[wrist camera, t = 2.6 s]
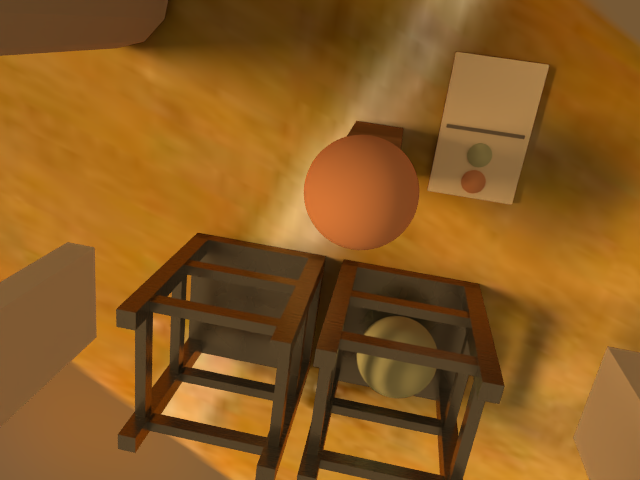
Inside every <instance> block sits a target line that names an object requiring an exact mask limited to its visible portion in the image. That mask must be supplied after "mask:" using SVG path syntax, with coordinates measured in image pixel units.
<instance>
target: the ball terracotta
mask: <svg viewBox="0 0 640 480" xmlns="http://www.w3.org/2000/svg"><path fill="white" fill-rule="evenodd" d="M304 200H305V206H306V209H307V212H308V215H309V217H310V219H311V221H312V223H313V224H314V226H315V227H316V228H317V230H318V231H319V232H320V233H321V234H322V235H323V236H324V237H326V238H327V239H328V240H330V241H331V242H333V243H335V244H337V245H339V246H342V247H345V248H349V249H355V250H368V249H374V248H378V247H380V246H383V245H386V244H388V243H389V242H391V241H393V240H394V239H396V238H397V237H398V236H399V235H400V234H401V233H403V232H404V230H405V229H406V228H407V227H408V225H409V224H410V222H411V221H412V219H413V217H414V215H415V212H416V209H417V205H418V200H419V183H418V178H417V175H416V172H415V169H414V167H413V165H412V163H411V162H410V160H409V158H408V157H407V156H406V155H405V154H404V152H403V151H401V150H400V149H399V148H398V147H397V146H395V145H394V144H393V143H391V142H389V141H387V140H385V139H382V138H380V137H376V136H372V135H352V136H347V137H344V138H341V139H339V140H337V141H335V142H333V143H331V144H330V145H328V146H327V147H326V148H325V149H323V150H322V151H321V152H320V153H319V154H318V155H317V157H316V158H315V159H314V161H313V162H312V164H311V166H310V168H309V170H308V173H307V176H306V179H305V185H304Z"/></svg>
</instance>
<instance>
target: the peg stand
mask: <svg viewBox="0 0 640 480" xmlns="http://www.w3.org/2000/svg"><path fill="white" fill-rule="evenodd" d="M352 135H372V136H376V137H380V138H382V139H385V140H387V141H389V142H391V143H393V144H394V145H395V146H397V147H398V148H399V149H400V150H401V144H402V136H403V128H399V127H393V126H386V125H380V124H373V123H367V122H360V121H356V123H355V124H354V126H353V127H352V129H351V131H350V132H349V134H348V135H347V136H352Z"/></svg>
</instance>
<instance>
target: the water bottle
mask: <svg viewBox="0 0 640 480" xmlns="http://www.w3.org/2000/svg"><path fill="white" fill-rule="evenodd" d="M167 4H168V0H0V56H2V55H17V54H33V53H48V52H64V51H79V50H95V49H110V48H119V47H123V46H128V45H132V44H136V43H140V42H144V41H145V40H146V39H147V38H148V37H149V36H150V35H151V34H152V33H153V31H154V30H155V29H156V28H157V27H158V26H159V25H160V24H161V22H162V21H163V20H164V19H165V14H166V9H167Z"/></svg>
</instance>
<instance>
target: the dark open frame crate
mask: <svg viewBox="0 0 640 480" xmlns="http://www.w3.org/2000/svg"><path fill="white" fill-rule="evenodd" d="M390 316H402V317H407V318H410V319H413V320H415V321H417V322H418V323H420V324H421V325H422V326H423V327H425V328H426V329H427V331H428V332H429V333H430V334H431V336H432V338H433V340H434V342H435V344H436V347H437V349H433V348H428V347H423V346H418V345H412V344H407V343H402V342H397V341H392V340H387V339H382V338H376V337H371V336H366V335H363V333H364V332H365V331H366V329H367V328H368V327H369V326H371V325H372V324H373V323H374V322H376V321H378V320H380V319H382V318H385V317H390ZM357 353H361V354H366V355H371V356H376V357H381V358H386V359H391V360H396V361H401V362H406V363H411V364H416V365H421V366H426V367H431V368H437V369H436V372H435V375H434V377H433V379H432V380H431V382H430V383H429V384H428V385H427V387H426V388H424V389H423V390H422V391H421V392H419V393H417V394H415V395H413V396H417V397H422V398H427V399H432V400H436V412H437V419H436V418H431V417H426V416H421V415H416V414H412V413H407V412H402V411H397V410H392V409H387V408H383V407H378V406H373V405H368V404H363V403H358V402H354V401H349V400H344V399H339V398H335V394H336V390H337V385H338V381H343V382H348V383H353V384H358V385H363V386H368V387H370V386H369V385H368V384H367V383H366V382H365V380H364V379H363V377H362V375H361V373H360V371H359V368H358V364H357ZM313 366H314V367H319V368H320V369H319V376H318V383H317V389H316V396H315V403H314V409H313V416H312V422H311V426H310V430H309V433H308V437H307V441H306V445H305V448H304V452H303V456H302V460H301V464H300V467H299V471H298V475H297V480H317V477H318V472H319V468H321V469H325V470H330V471H334V472H339V473H343V474H348V475H352V476H357V477H361V478H366V479H370V480H463V476H464V472H465V469H466V465H467V462H468V458H469V455H470V452H471V448H472V445H473V441H474V438H475V434H476V431H477V428H478V424H479V421H480V417H481V414H482V410H483V407H484V403H485V401H487V402H492V403H497V404H499V403H500V400H501V396H502V393H503V390H504V382H503V378H502V374H501V370H500V366H499V362H498V358H497V354H496V350H495V346H494V342H493V338H492V334H491V330H490V326H489V322H488V318H487V314H486V310H485V306H484V302H483V298H482V294H481V290H480V286H479V284H477V283H471V282H466V281H460V280H455V279H449V278H443V277H438V276H432V275H427V274H421V273H416V272H410V271H405V270H399V269H394V268H388V267H383V266H377V265H372V264H366V263H361V262H355V261H350V260H343V263H342V266H341V269H340V273H339V276H338V279H337V282H336V285H335V289H334V292H333V295H332V298H331V301H330V305H329V308H328V311H327V314H326V317H325V321H324V324H323V327H322V330H321V334H320V337H319V340H318V343H317V346H316V351H315V358H314V364H313ZM469 375H472V376H474V382H473V385H472V389H471V393H470V396H469V400H468V404H467V407H466V411H465V414H464V418H463V422H462V425H461V429H460V432H459V436H458V428H457V416H458V412H459V409H460V405H461V401H462V398H463V394H464V390H465V387H466V383H467V379H468V376H469ZM331 413H334V414H339V415H344V416H348V417H353V418H358V419H363V420H367V421H372V422H377V423H382V424H386V425H391V426H396V427H401V428H405V429H410V430H415V431H420V432H424V433H429V434H434V435H438V448H439V466H440V475H437V474H432V473H428V472H423V471H419V470H414V469H409V468H405V467H400V466H396V465H391V464H386V463H382V462H377V461H373V460H368V459H363V458H359V457H354V456H350V455H345V454H340V453H336V452H331V451H327V450H323V449H324V445H325V440H326V436H327V431H328V426H329V422H330V417H331Z"/></svg>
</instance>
